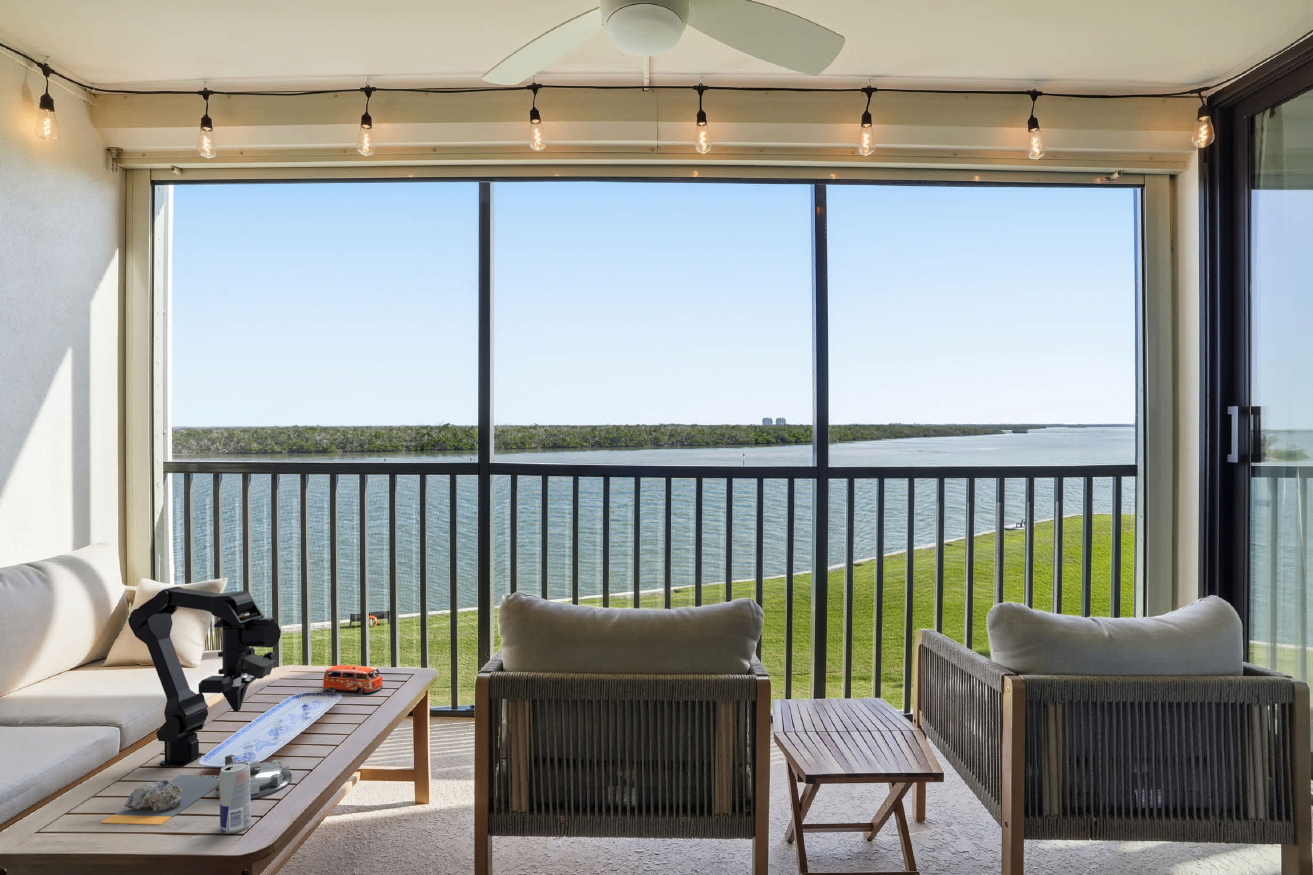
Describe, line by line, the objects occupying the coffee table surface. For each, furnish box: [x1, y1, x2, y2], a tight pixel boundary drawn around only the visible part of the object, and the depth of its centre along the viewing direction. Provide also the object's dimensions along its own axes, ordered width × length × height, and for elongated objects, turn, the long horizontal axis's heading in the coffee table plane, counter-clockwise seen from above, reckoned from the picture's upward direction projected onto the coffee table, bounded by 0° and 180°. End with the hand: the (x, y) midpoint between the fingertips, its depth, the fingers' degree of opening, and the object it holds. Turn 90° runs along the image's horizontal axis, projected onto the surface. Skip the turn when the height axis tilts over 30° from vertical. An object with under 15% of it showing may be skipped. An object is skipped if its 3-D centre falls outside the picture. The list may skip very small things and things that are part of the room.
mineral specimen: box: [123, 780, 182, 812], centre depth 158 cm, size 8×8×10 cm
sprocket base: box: [215, 766, 293, 801], centre depth 168 cm, size 15×15×4 cm
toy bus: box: [321, 664, 384, 695], centre depth 234 cm, size 7×18×7 cm, turn 77°
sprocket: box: [218, 754, 290, 795], centre depth 168 cm, size 14×14×7 cm
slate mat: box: [100, 774, 220, 826], centre depth 162 cm, size 13×22×1 cm, turn 175°
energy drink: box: [218, 761, 252, 835], centre depth 149 cm, size 5×5×12 cm
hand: (236, 710), depth 179 cm, fingers closed
